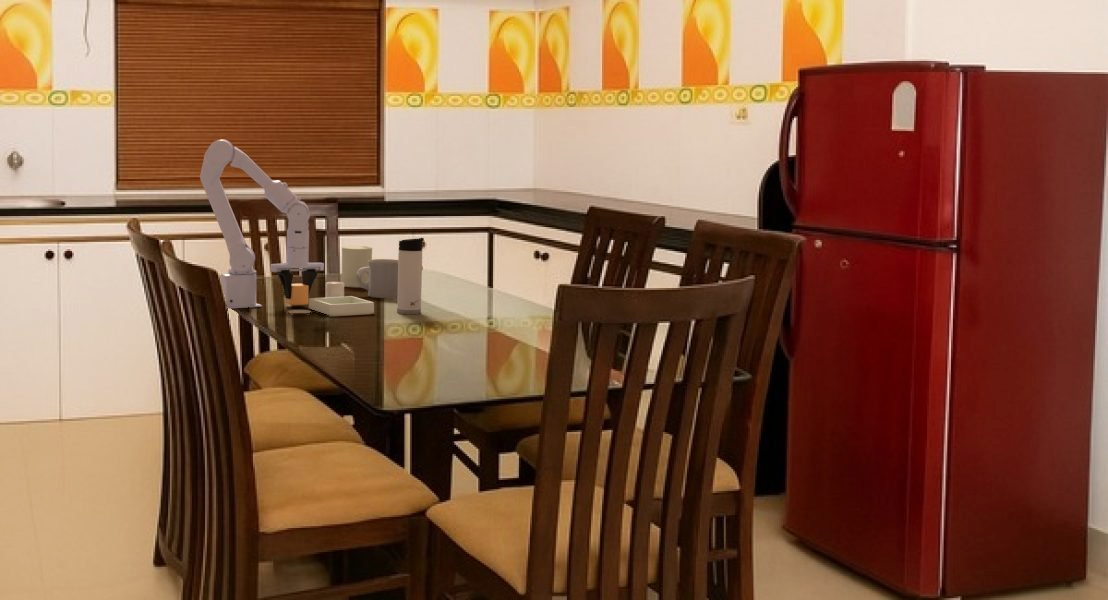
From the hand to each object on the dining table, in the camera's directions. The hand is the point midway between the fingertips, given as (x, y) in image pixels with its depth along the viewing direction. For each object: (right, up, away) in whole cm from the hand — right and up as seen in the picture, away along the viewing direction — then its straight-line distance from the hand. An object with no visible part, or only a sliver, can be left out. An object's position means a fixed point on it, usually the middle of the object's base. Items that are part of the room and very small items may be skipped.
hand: (296, 298), depth 369 cm
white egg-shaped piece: (+9, -2, +7) cm, 11 cm away
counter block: (0, -1, 0) cm, 1 cm away
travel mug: (+30, -4, -3) cm, 31 cm away
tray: (+13, -4, -5) cm, 14 cm away
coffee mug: (+18, 0, +28) cm, 33 cm away
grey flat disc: (+2, -4, -10) cm, 11 cm away
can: (+9, +4, +48) cm, 49 cm away
